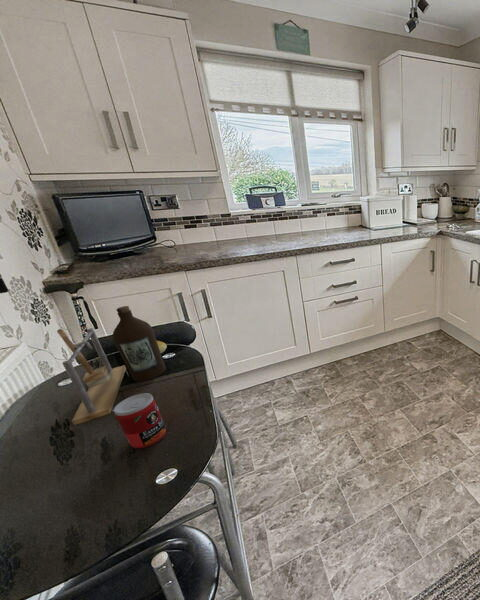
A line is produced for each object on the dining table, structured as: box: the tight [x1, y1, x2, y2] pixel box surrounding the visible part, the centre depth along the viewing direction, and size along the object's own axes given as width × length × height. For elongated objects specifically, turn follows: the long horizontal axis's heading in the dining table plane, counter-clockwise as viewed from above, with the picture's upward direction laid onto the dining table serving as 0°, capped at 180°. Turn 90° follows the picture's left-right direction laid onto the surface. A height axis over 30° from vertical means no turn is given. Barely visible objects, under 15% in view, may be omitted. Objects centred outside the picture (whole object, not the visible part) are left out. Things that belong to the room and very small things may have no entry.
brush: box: [56, 328, 111, 389], centre depth 99 cm, size 6×4×20 cm
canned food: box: [113, 392, 167, 450], centre depth 81 cm, size 8×8×11 cm
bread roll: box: [157, 340, 168, 354], centre depth 128 cm, size 8×9×4 cm
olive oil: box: [112, 305, 167, 383], centre depth 109 cm, size 11×11×25 cm
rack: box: [62, 327, 127, 426], centre depth 101 cm, size 8×30×18 cm, turn 32°
